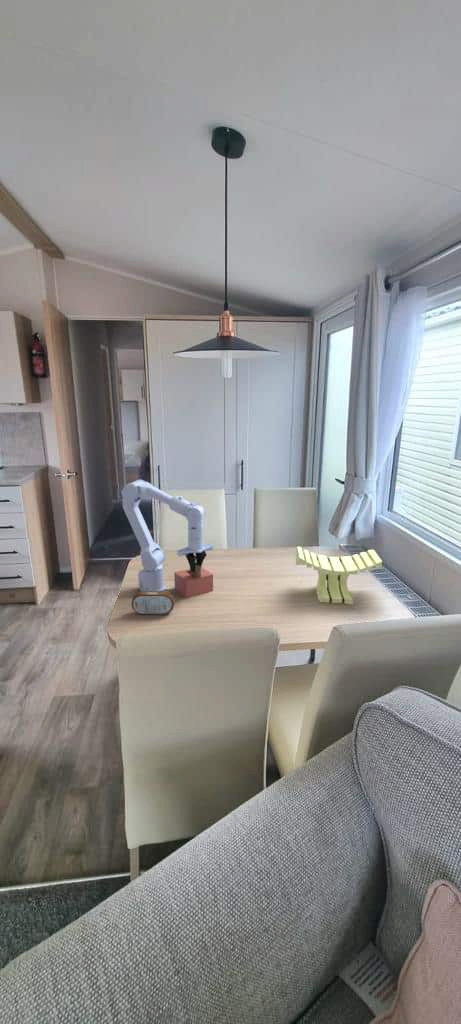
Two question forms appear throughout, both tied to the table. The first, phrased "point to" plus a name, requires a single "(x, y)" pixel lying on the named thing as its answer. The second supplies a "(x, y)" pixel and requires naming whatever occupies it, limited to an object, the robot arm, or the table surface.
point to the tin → (153, 602)
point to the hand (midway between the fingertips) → (195, 570)
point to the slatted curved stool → (336, 572)
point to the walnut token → (196, 571)
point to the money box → (193, 582)
